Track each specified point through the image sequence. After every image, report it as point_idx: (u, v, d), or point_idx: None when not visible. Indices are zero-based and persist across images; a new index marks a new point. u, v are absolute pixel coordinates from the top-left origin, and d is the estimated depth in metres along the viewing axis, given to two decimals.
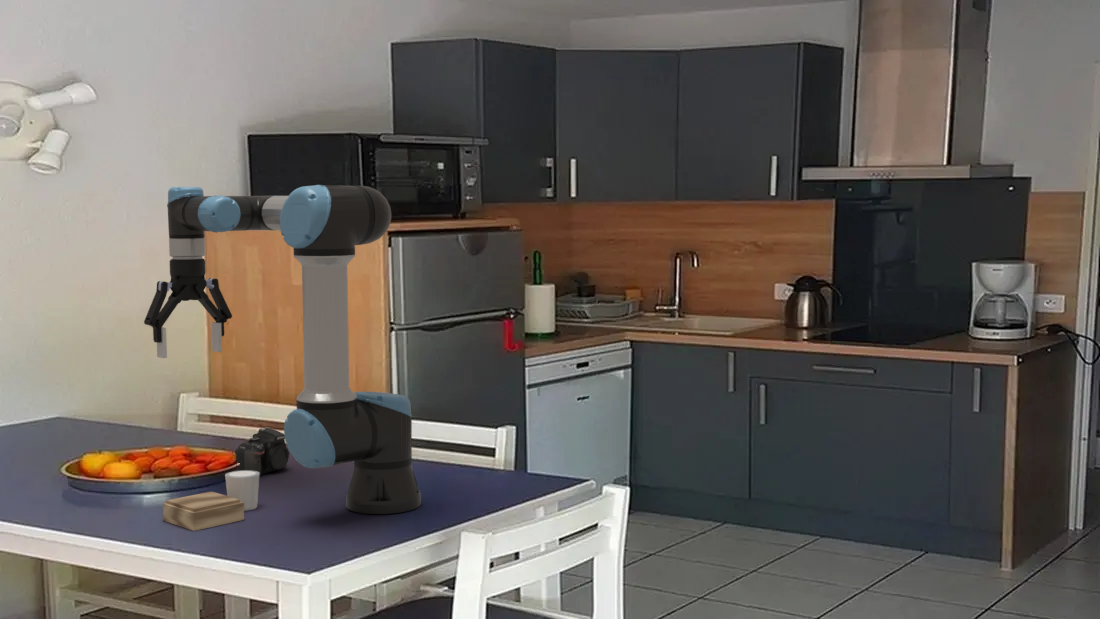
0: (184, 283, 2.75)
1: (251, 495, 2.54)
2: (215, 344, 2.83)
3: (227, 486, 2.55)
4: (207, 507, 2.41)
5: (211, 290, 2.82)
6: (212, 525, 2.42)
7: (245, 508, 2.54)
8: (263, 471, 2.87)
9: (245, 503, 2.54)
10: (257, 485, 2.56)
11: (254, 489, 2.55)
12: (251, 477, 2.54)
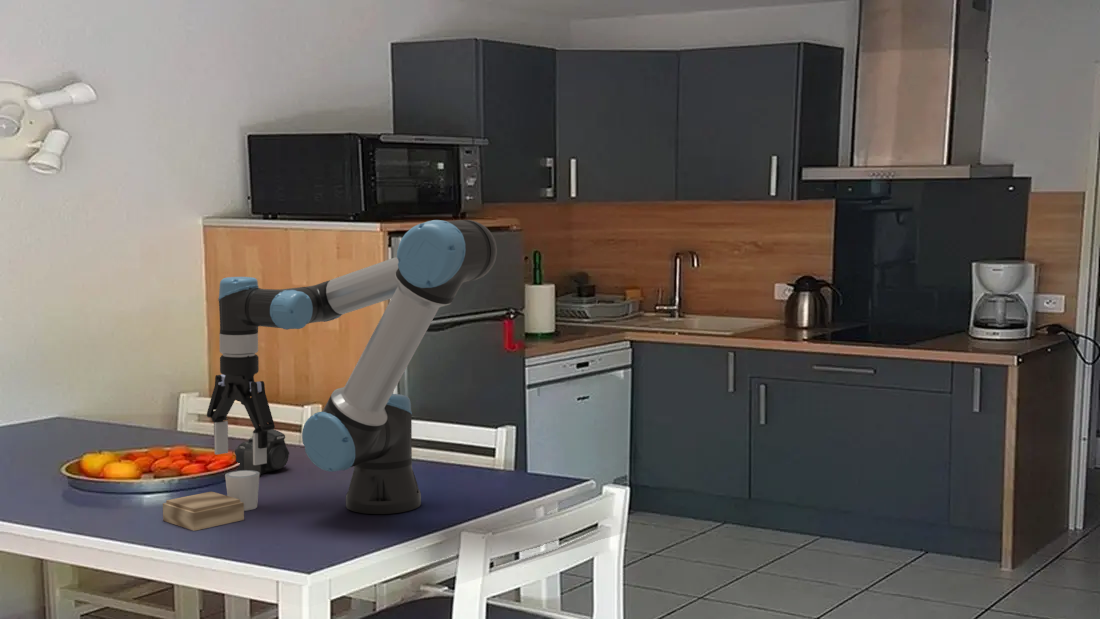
0: (230, 380, 2.55)
1: (251, 495, 2.54)
2: None
3: (227, 486, 2.55)
4: (207, 507, 2.41)
5: None
6: (212, 525, 2.42)
7: (245, 508, 2.54)
8: (263, 471, 2.87)
9: (245, 503, 2.54)
10: (257, 485, 2.56)
11: (254, 489, 2.55)
12: (251, 477, 2.54)
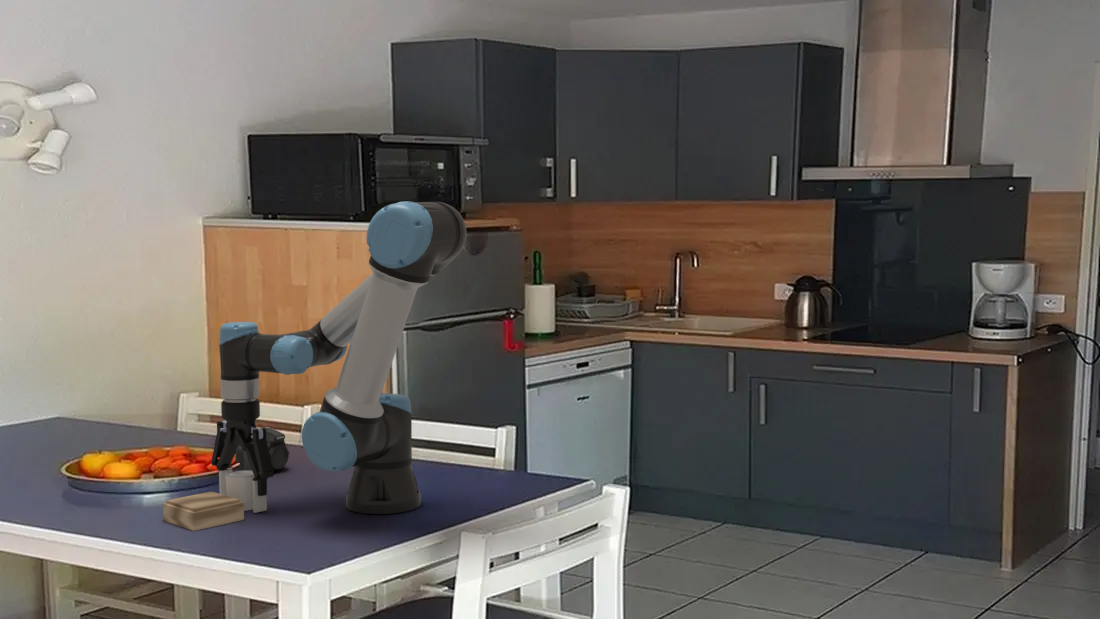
0: (231, 425, 2.55)
1: (251, 495, 2.54)
2: None
3: (227, 486, 2.55)
4: (207, 507, 2.41)
5: None
6: (212, 525, 2.42)
7: (245, 508, 2.54)
8: None
9: (245, 503, 2.54)
10: None
11: None
12: (251, 477, 2.54)
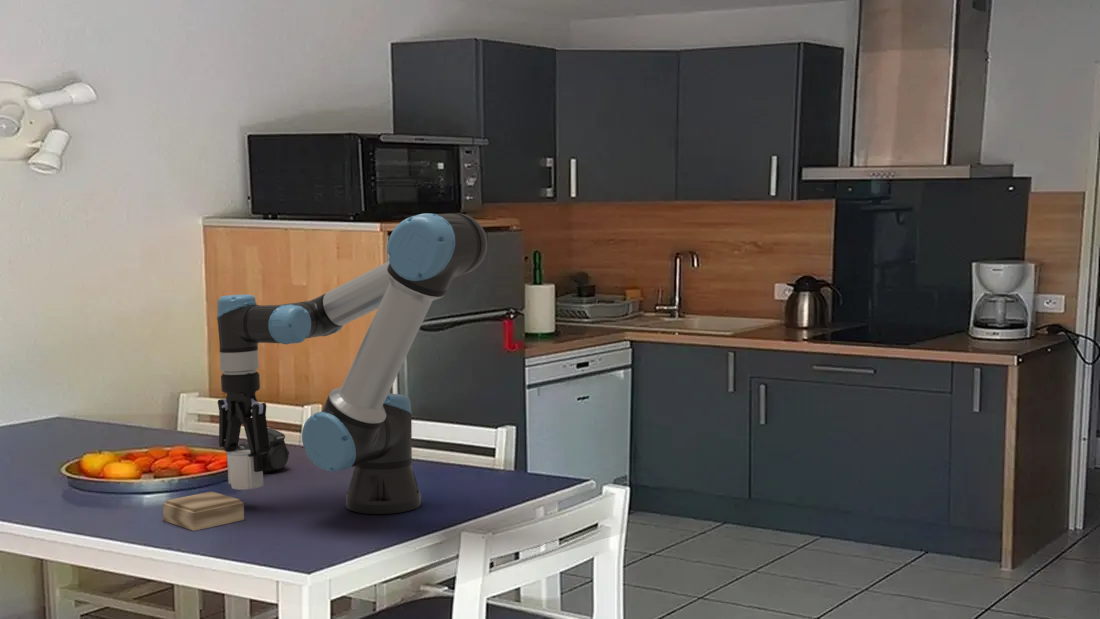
0: (231, 396, 2.55)
1: None
2: None
3: (229, 465, 2.54)
4: (207, 507, 2.41)
5: None
6: (212, 525, 2.42)
7: (248, 487, 2.53)
8: (263, 471, 2.87)
9: (248, 481, 2.53)
10: None
11: None
12: None
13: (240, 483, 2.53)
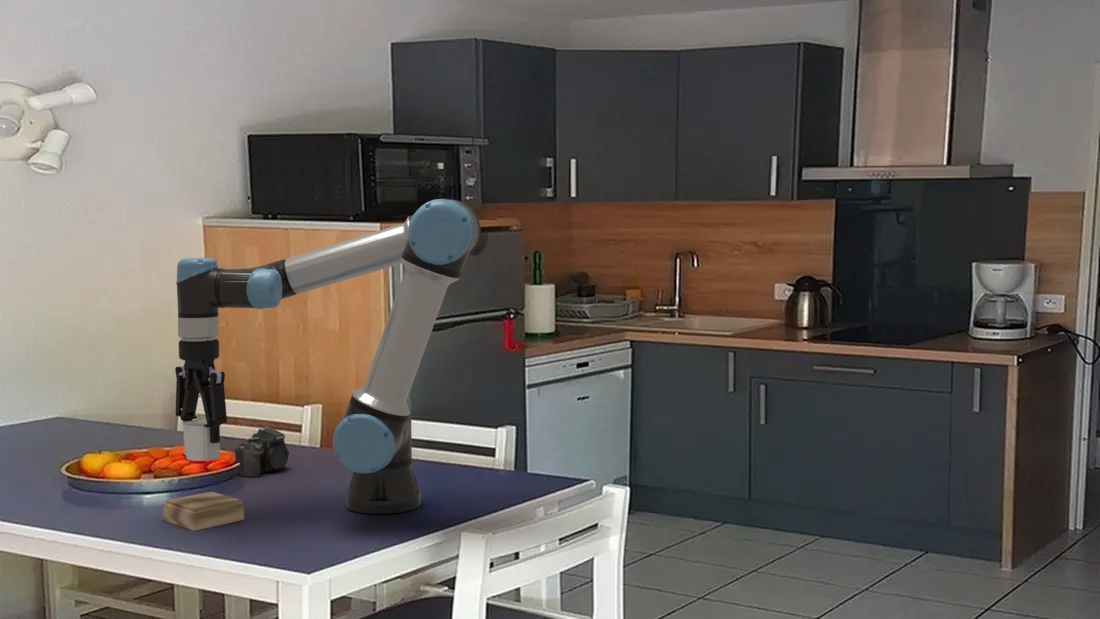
0: (189, 363, 2.44)
1: None
2: None
3: (185, 435, 2.43)
4: (207, 507, 2.41)
5: None
6: (212, 525, 2.42)
7: (203, 458, 2.43)
8: (262, 471, 2.87)
9: (203, 453, 2.43)
10: None
11: None
12: None
13: (195, 454, 2.43)
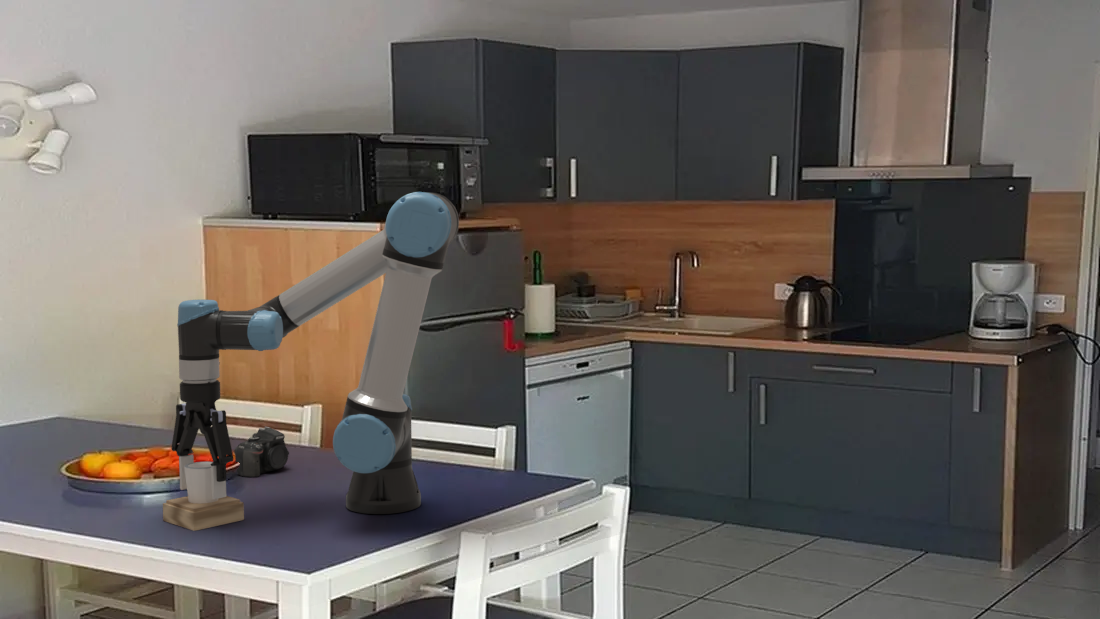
0: (190, 406, 2.45)
1: (211, 487, 2.44)
2: None
3: (186, 478, 2.44)
4: (207, 507, 2.41)
5: None
6: (212, 525, 2.42)
7: (205, 501, 2.44)
8: (262, 470, 2.87)
9: (205, 495, 2.43)
10: None
11: None
12: None
13: (197, 497, 2.43)
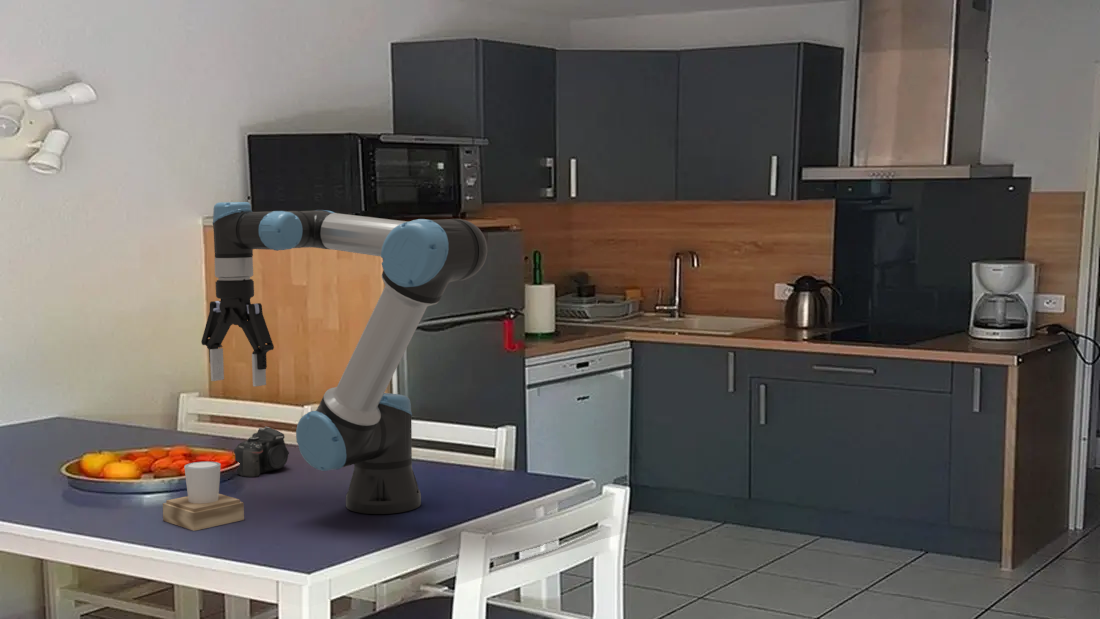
0: (226, 305, 2.57)
1: (211, 487, 2.44)
2: None
3: (186, 478, 2.44)
4: (207, 507, 2.41)
5: None
6: (212, 525, 2.42)
7: (205, 501, 2.44)
8: (262, 470, 2.87)
9: (205, 495, 2.43)
10: (218, 477, 2.45)
11: (215, 481, 2.44)
12: (211, 468, 2.43)
13: (197, 497, 2.43)
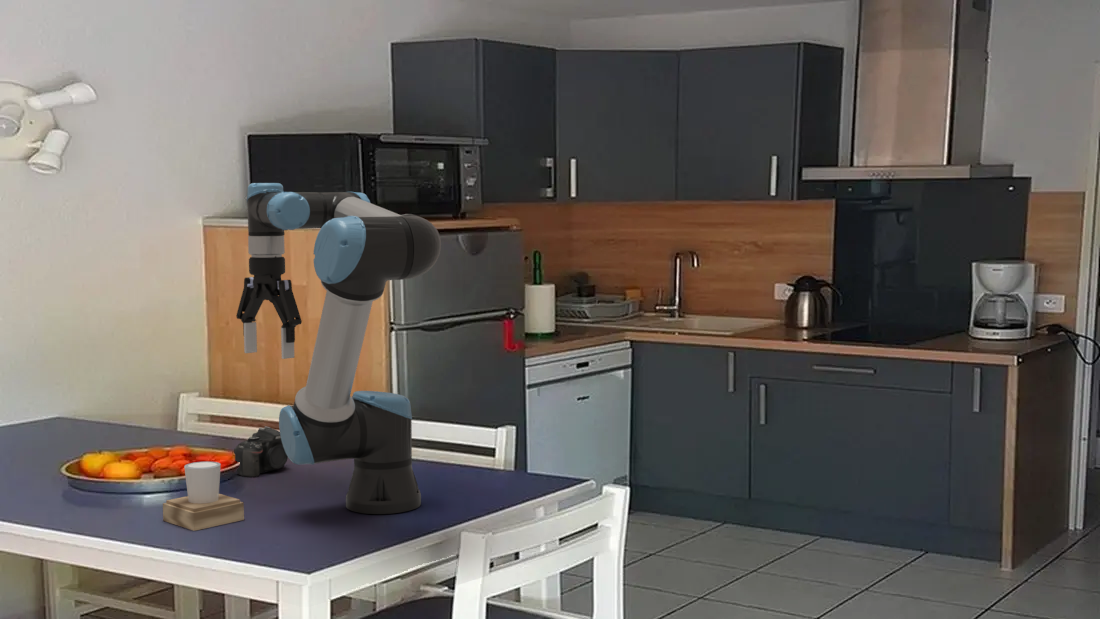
0: (258, 281, 2.70)
1: (211, 487, 2.44)
2: None
3: (186, 478, 2.44)
4: (207, 507, 2.41)
5: None
6: (212, 525, 2.42)
7: (205, 501, 2.44)
8: (262, 470, 2.87)
9: (205, 495, 2.43)
10: (218, 477, 2.45)
11: (215, 481, 2.44)
12: (211, 468, 2.43)
13: (197, 497, 2.43)
